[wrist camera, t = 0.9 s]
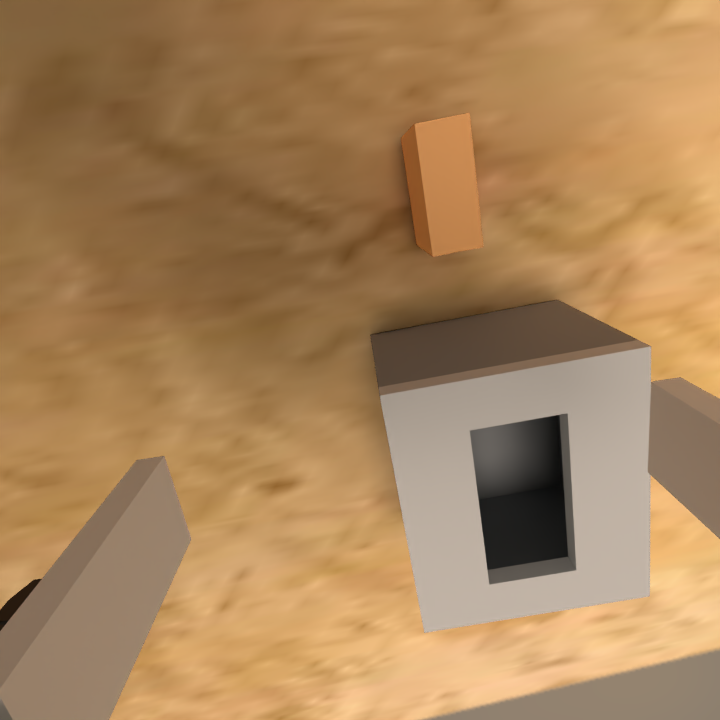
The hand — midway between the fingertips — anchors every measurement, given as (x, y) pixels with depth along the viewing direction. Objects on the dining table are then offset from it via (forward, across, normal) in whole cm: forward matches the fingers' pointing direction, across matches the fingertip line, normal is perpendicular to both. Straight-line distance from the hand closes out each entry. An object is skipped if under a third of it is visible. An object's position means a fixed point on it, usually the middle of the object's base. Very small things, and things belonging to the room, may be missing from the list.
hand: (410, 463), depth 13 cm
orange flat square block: (+18, +4, +7) cm, 20 cm away
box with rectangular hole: (+18, +6, -8) cm, 21 cm away
